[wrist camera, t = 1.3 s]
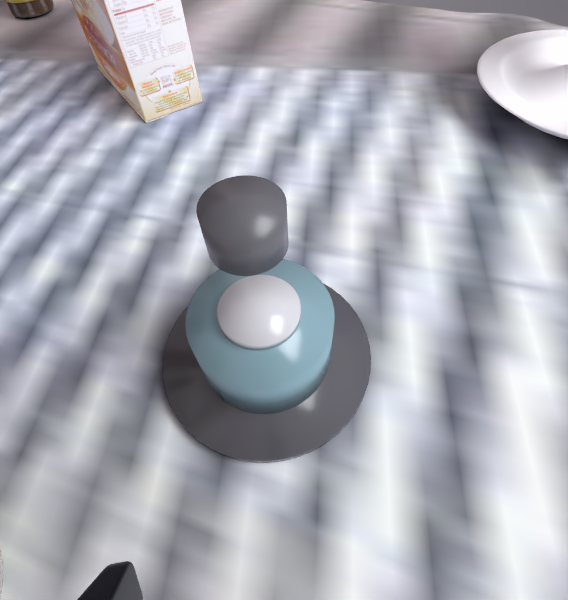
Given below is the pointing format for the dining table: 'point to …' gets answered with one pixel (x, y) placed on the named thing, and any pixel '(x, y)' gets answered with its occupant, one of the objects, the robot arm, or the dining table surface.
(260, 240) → the knob
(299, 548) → the dining table surface
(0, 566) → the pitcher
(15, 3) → the sauce bottle
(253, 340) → the tiered round stand
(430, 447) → the dining table surface
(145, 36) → the coffeecake box
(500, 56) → the candlestick
